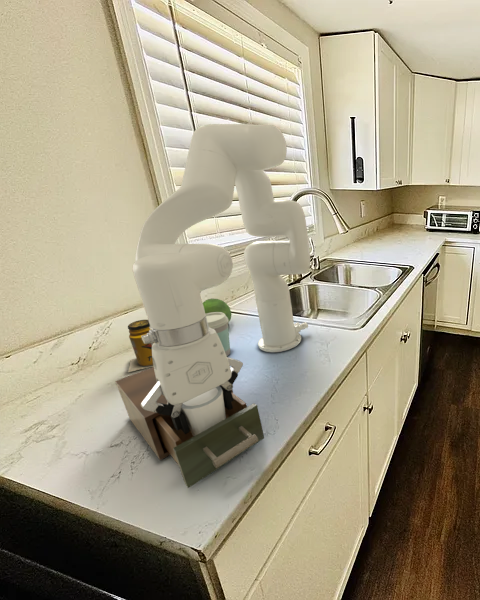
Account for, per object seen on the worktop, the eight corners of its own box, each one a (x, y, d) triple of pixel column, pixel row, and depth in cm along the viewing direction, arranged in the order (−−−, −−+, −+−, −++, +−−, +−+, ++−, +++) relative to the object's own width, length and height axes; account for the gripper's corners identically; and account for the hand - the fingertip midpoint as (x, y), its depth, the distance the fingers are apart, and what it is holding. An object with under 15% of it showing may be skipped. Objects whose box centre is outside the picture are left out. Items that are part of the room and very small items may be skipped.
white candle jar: (186, 446, 56) (175, 413, 53) (189, 421, 61) (179, 390, 59) (230, 432, 59) (222, 400, 56) (229, 409, 64) (222, 379, 62)
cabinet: (238, 416, 71) (229, 377, 67) (160, 460, 60) (144, 418, 56) (202, 385, 81) (193, 351, 77) (130, 419, 70) (115, 381, 66)
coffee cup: (241, 349, 97) (234, 313, 93) (218, 364, 90) (208, 325, 85) (219, 345, 100) (211, 309, 95) (195, 359, 92) (184, 321, 88)
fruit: (200, 320, 117) (193, 294, 113) (230, 314, 122) (225, 289, 118) (201, 337, 105) (194, 308, 101) (235, 329, 110) (229, 302, 106)
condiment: (166, 363, 91) (154, 324, 86) (128, 373, 86) (113, 332, 82) (166, 352, 96) (155, 315, 92) (130, 360, 92) (117, 322, 88)
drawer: (279, 451, 60) (273, 417, 57) (202, 506, 50) (189, 469, 47) (223, 404, 73) (216, 374, 70) (152, 441, 63) (140, 408, 60)
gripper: (122, 360, 44) (159, 459, 51) (245, 318, 57) (262, 401, 64) (107, 344, 49) (143, 437, 55) (224, 308, 61) (242, 386, 68)
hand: (206, 417), depth 59 cm, fingers closed on white candle jar, 6 cm apart
